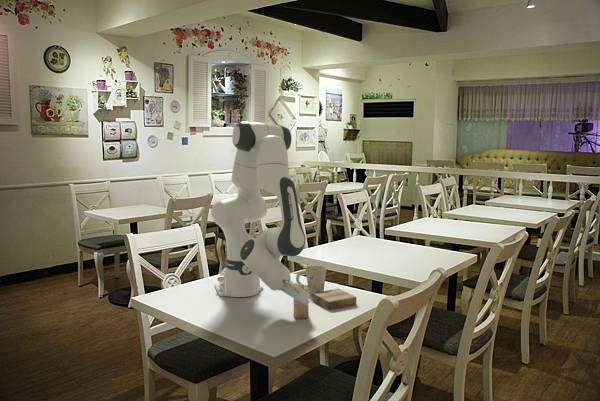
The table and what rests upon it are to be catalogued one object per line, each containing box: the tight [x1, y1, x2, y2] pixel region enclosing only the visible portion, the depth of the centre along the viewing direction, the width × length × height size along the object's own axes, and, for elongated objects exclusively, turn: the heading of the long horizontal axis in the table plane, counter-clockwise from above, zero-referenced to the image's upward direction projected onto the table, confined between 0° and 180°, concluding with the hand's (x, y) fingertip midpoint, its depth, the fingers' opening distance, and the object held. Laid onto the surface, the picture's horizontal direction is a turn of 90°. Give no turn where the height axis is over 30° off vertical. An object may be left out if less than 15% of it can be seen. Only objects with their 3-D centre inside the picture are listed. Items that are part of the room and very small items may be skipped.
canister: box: [293, 283, 310, 319], centre depth 175 cm, size 5×5×11 cm
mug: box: [295, 265, 327, 295], centre depth 203 cm, size 8×13×10 cm, turn 78°
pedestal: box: [312, 288, 357, 311], centre depth 190 cm, size 12×12×3 cm
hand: (302, 300), depth 175 cm, fingers closed on canister, 5 cm apart
